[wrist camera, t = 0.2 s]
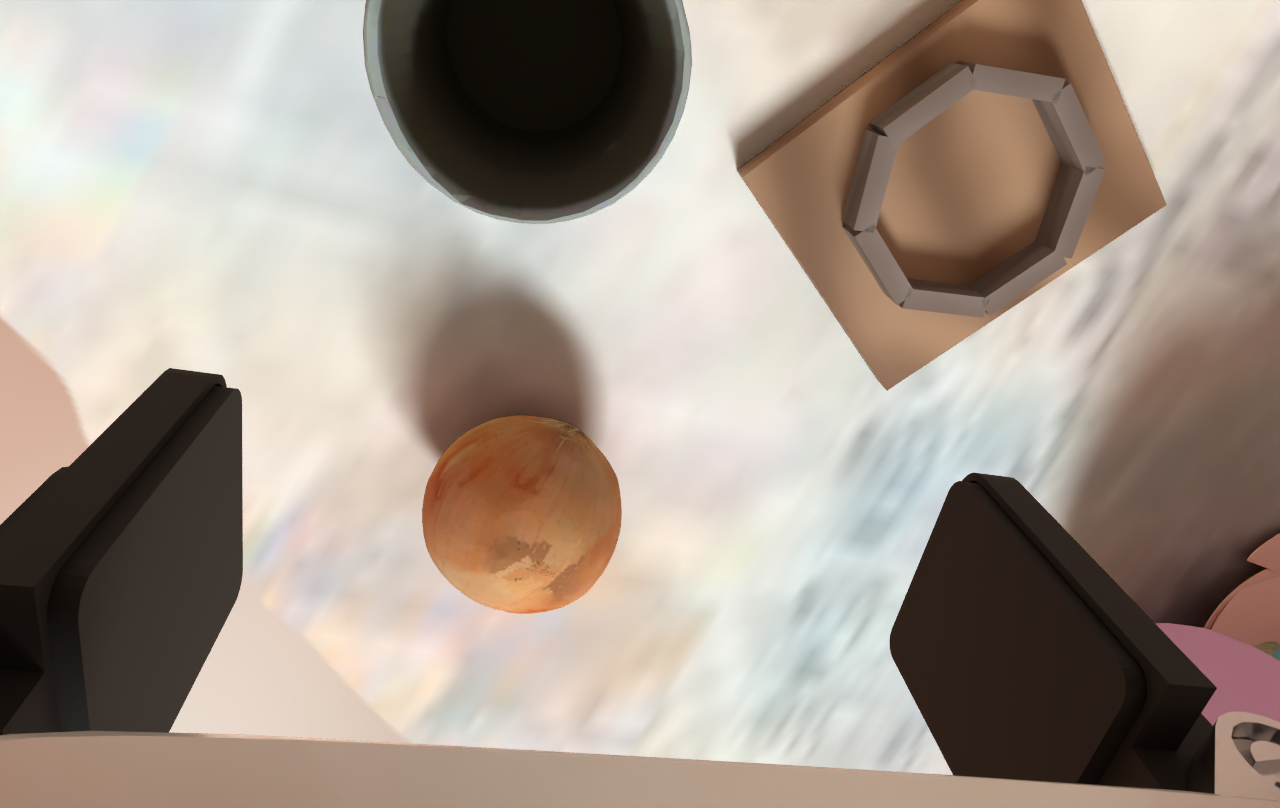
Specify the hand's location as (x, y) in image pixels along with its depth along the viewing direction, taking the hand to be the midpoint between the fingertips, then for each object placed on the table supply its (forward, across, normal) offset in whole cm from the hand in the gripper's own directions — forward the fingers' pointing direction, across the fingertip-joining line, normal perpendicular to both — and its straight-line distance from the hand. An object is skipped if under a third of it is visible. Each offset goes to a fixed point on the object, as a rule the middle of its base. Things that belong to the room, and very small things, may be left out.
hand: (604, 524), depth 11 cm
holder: (+31, -19, -2) cm, 36 cm away
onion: (+31, -1, +17) cm, 35 cm away
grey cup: (+31, +2, -4) cm, 31 cm away
